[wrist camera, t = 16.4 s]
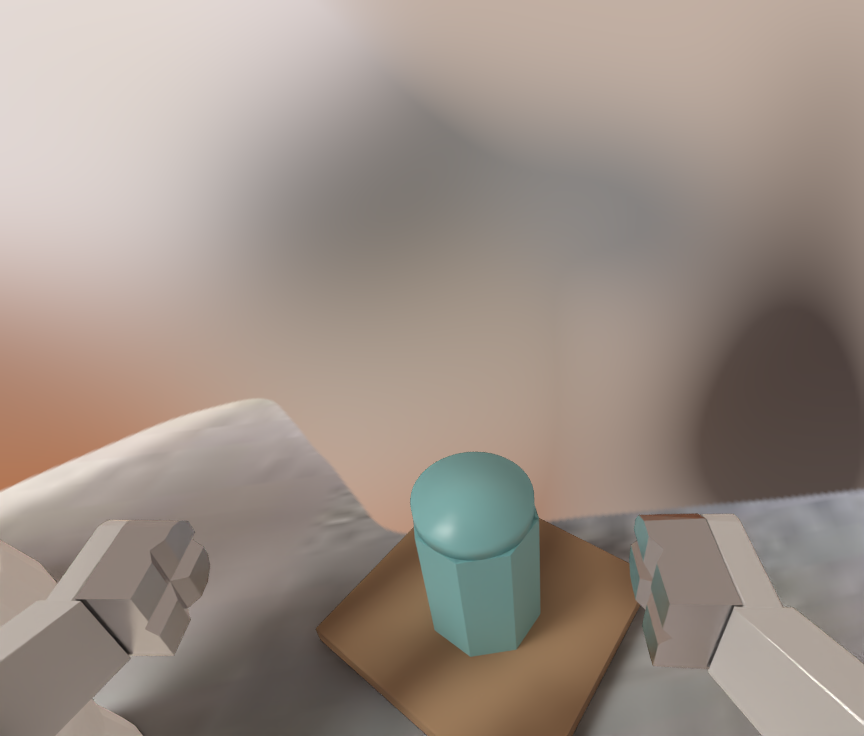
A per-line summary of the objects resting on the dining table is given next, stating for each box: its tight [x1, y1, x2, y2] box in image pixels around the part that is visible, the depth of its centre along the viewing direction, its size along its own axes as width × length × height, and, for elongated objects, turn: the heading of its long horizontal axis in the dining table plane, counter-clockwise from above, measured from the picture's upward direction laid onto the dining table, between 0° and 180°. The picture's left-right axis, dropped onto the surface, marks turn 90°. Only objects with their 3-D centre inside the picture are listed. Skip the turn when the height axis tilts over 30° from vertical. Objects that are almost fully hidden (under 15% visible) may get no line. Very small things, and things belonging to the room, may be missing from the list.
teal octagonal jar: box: [410, 452, 540, 657], centre depth 28 cm, size 6×6×9 cm
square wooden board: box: [316, 518, 640, 736], centre depth 30 cm, size 14×14×5 cm
